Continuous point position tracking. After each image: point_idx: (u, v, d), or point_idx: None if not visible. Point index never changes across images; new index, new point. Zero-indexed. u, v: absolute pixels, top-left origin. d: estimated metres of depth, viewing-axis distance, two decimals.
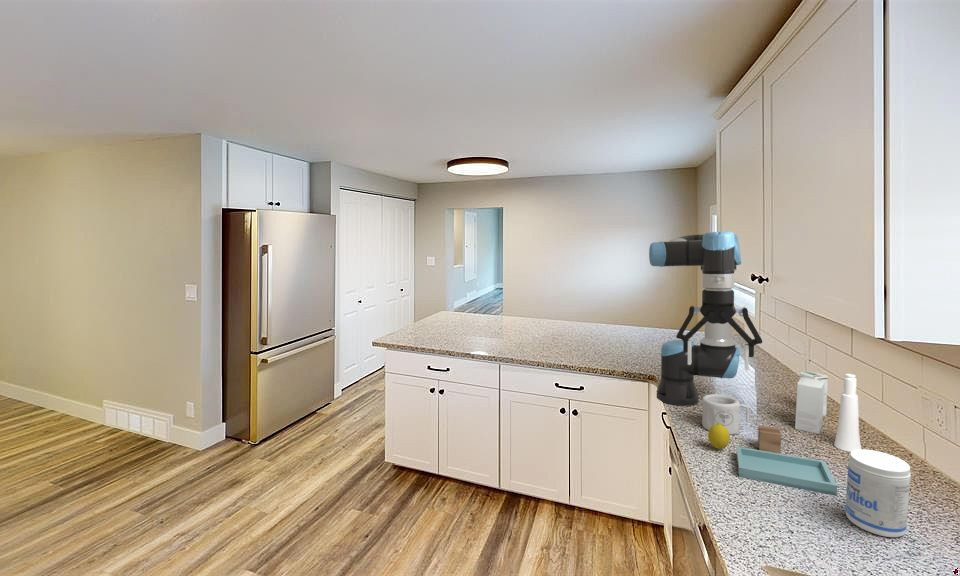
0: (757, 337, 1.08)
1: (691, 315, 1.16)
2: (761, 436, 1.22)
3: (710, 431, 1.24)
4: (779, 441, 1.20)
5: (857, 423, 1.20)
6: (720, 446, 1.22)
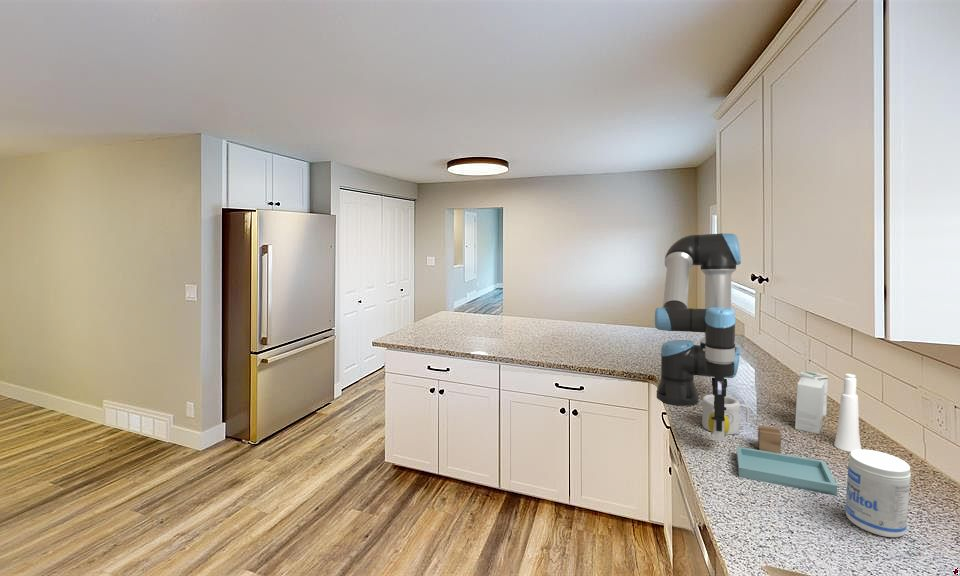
0: (714, 414, 1.20)
1: None
2: (761, 436, 1.22)
3: (710, 418, 1.25)
4: (779, 441, 1.20)
5: (857, 423, 1.20)
6: None
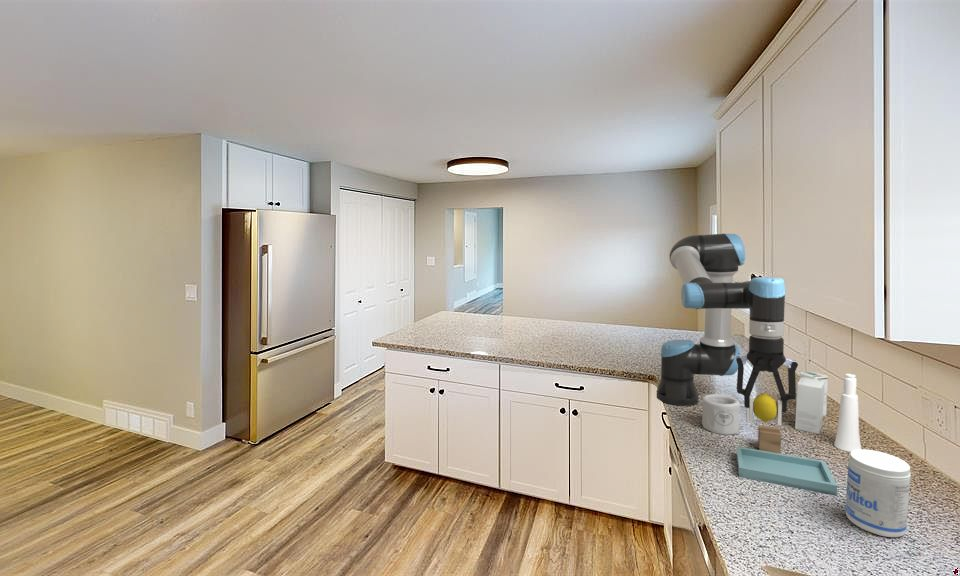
0: (792, 393, 1.07)
1: (741, 366, 1.12)
2: (761, 436, 1.22)
3: (771, 405, 1.09)
4: (779, 441, 1.20)
5: (857, 423, 1.20)
6: None
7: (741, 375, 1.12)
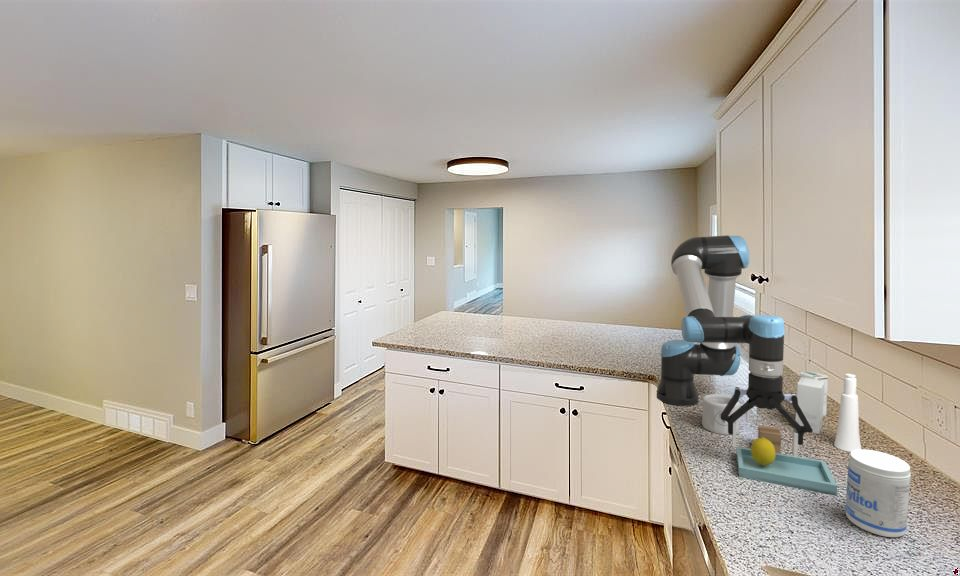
0: (807, 426, 1.07)
1: (737, 398, 1.14)
2: (761, 436, 1.22)
3: (769, 450, 1.10)
4: (779, 441, 1.20)
5: (857, 423, 1.20)
6: None
7: (732, 405, 1.14)
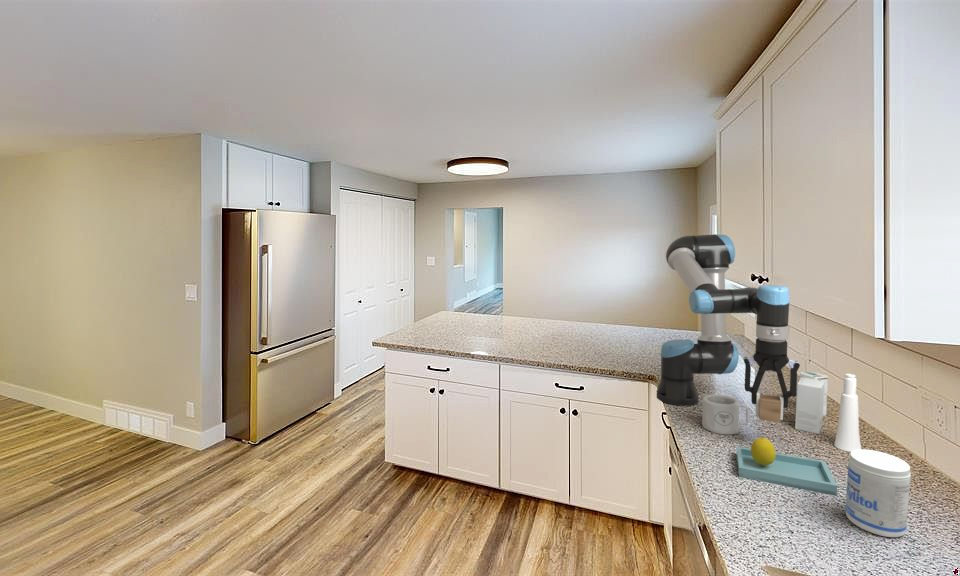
0: (794, 390, 1.18)
1: (749, 366, 1.23)
2: (761, 404, 1.21)
3: (769, 450, 1.10)
4: (779, 408, 1.19)
5: (857, 423, 1.20)
6: None
7: (748, 374, 1.23)
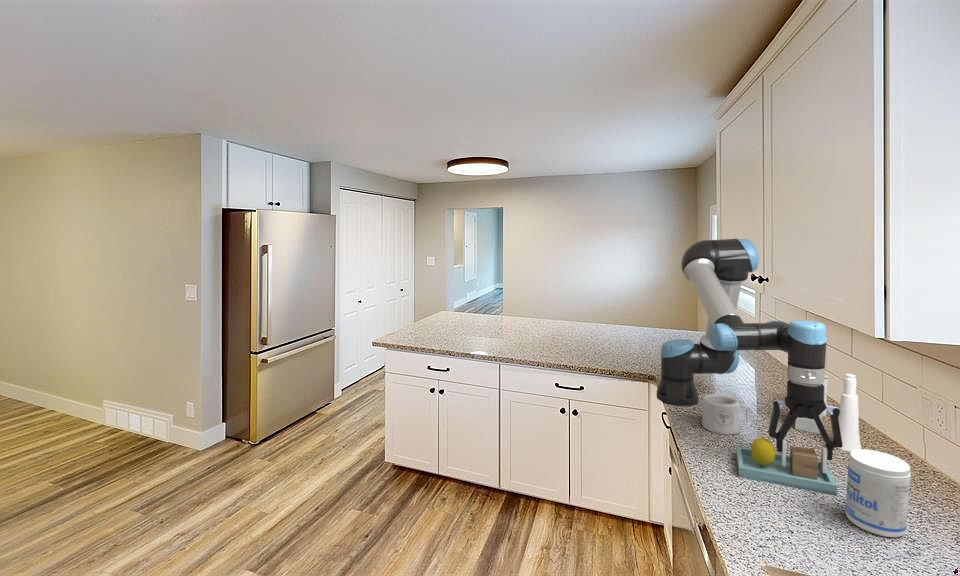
0: (838, 440, 1.04)
1: (778, 411, 1.09)
2: (794, 459, 1.07)
3: (769, 450, 1.10)
4: (816, 465, 1.05)
5: (857, 423, 1.20)
6: None
7: (776, 419, 1.10)
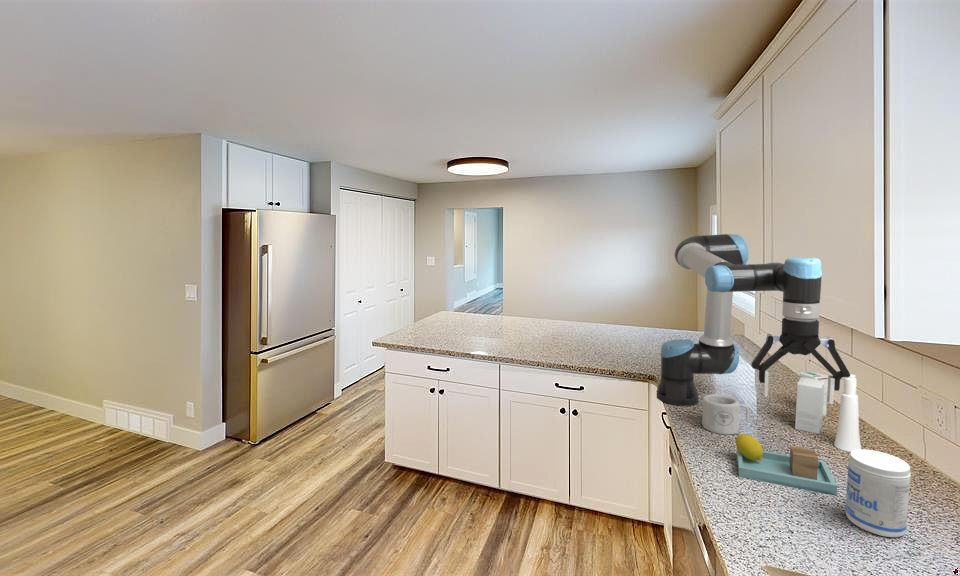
0: (844, 370, 1.03)
1: (770, 345, 1.10)
2: (794, 459, 1.07)
3: (749, 438, 1.15)
4: (816, 465, 1.05)
5: (857, 423, 1.20)
6: None
7: (765, 352, 1.10)
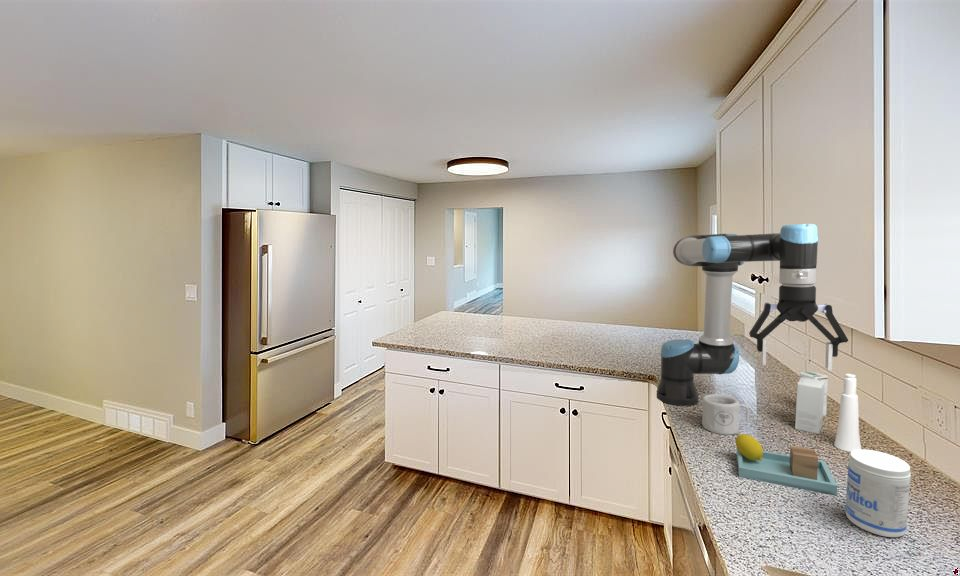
0: (842, 335, 1.02)
1: (767, 312, 1.09)
2: (794, 459, 1.07)
3: (749, 438, 1.15)
4: (816, 465, 1.05)
5: (857, 423, 1.20)
6: None
7: (762, 320, 1.10)
